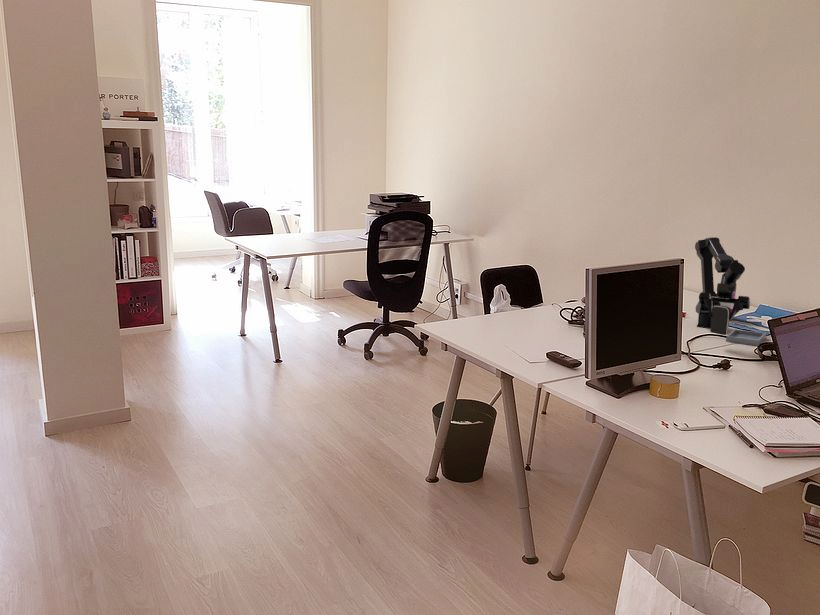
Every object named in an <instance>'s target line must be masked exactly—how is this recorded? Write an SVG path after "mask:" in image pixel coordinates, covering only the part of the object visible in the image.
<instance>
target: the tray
mask: <svg viewBox="0 0 820 615" xmlns="http://www.w3.org/2000/svg"><path fill="white" fill-rule="evenodd" d="M766 335H767V333H766V332H759V331H750V330H743V329H737V328H736V329H735V328H734V329H733V330H732V331H731V332H730V333H728V334H727V335H725V336H726V338H725V342H729V343H736V344H744V345H749V346H750V345H751V346H755V347H756V346H757V347H759V346H760V345H761V343H762V342H763V341H765V340H766V338H767V336H766Z"/></svg>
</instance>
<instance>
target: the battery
mask: <svg viewBox="0 0 820 615" xmlns="http://www.w3.org/2000/svg"><path fill="white" fill-rule="evenodd" d="M730 315H731V309H730V308H729V307H726V306H720V305H717V306H714V307H713V308H712V311H711V328H710V333H712V334H717V335H723V336H727V335H728V334H729V322H730V321H731V320H730Z"/></svg>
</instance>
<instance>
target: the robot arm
mask: <svg viewBox="0 0 820 615" xmlns="http://www.w3.org/2000/svg"><path fill="white" fill-rule="evenodd" d="M720 241H721V240H720V238H719V237H713V236H712V237H706V238H704V239H698V240H697V242H695V243H694V249H695V251H696V256H697V257H698V258H699V259H700V265H701V266H700V267H701V269H700V270H701V283H702V284H701V285H702V288H701V289H702V292H700V293H699V294H698V299H699V300H698V302H697V304H696V306H695V312H696V313H697V314H698V317H697V318H698V320H697V324H696V327H697V328H699V327H700V328H706V329H711V311H712V308H713V307H714V306H717V305H720V302H722V303H733V304H734V306H733V309H732V312H731V315H730V320H729V321H732V320H733V319H734V318H733V317H735V316H736V315H737V314H738V313H739V312H740V311H743V310H750V306H751V299H750V297H749V296H746V295H739V296H738V297H737V298H735V299H733V294H734V292H735V291H737V281H738V280H740V279H741V276H742V275H743V274H744V272H745V270H746V268H745V266H744V265H743V263H741V262H739V260H738V259H734V257H732V256H731V255H728V254H727V252H726V250H725V249H724V247H723V244H721V243H720ZM713 259H714V260H715V263H714V264H713ZM713 265H714V267H713ZM713 268H714V269H715V271H716V272H717V273H719V274H722V273H723V274H722V275H721V280H720V282H718V283H717V284H716V290H715V285H714V269H713ZM716 291H717V293H716ZM732 318H733V319H732ZM731 319H732V320H731Z"/></svg>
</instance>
